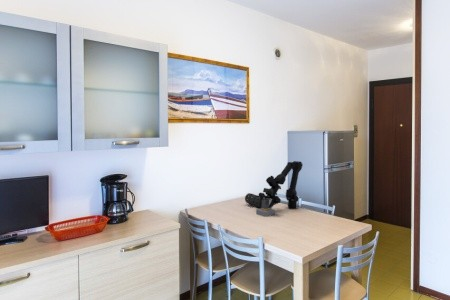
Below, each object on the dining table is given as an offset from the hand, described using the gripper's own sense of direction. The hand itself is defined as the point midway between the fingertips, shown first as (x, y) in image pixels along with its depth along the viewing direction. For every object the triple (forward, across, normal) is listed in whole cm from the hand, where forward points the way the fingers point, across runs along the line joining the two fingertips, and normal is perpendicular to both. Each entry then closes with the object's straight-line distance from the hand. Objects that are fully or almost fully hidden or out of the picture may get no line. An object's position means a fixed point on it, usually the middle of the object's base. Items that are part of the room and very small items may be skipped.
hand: (264, 206), depth 235 cm
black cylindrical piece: (-5, -19, +15) cm, 25 cm away
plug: (+3, 0, +5) cm, 6 cm away
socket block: (+4, 0, +6) cm, 7 cm away
